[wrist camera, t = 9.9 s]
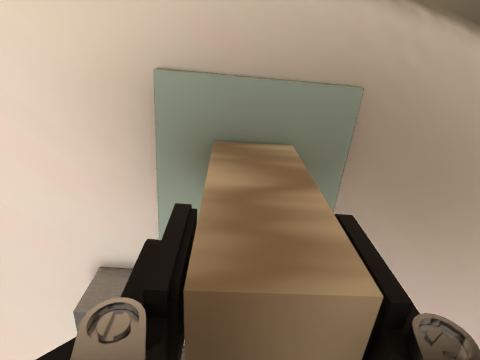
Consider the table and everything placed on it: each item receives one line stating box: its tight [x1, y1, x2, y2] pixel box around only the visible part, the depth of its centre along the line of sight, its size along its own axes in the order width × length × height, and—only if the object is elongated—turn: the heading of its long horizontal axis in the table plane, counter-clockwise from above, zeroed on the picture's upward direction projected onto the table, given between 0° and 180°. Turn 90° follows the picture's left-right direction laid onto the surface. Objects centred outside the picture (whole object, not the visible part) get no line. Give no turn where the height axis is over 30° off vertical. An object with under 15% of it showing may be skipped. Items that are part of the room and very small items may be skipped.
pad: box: [154, 68, 364, 240], centre depth 16 cm, size 10×10×1 cm
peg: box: [184, 141, 383, 360], centre depth 11 cm, size 4×4×10 cm
